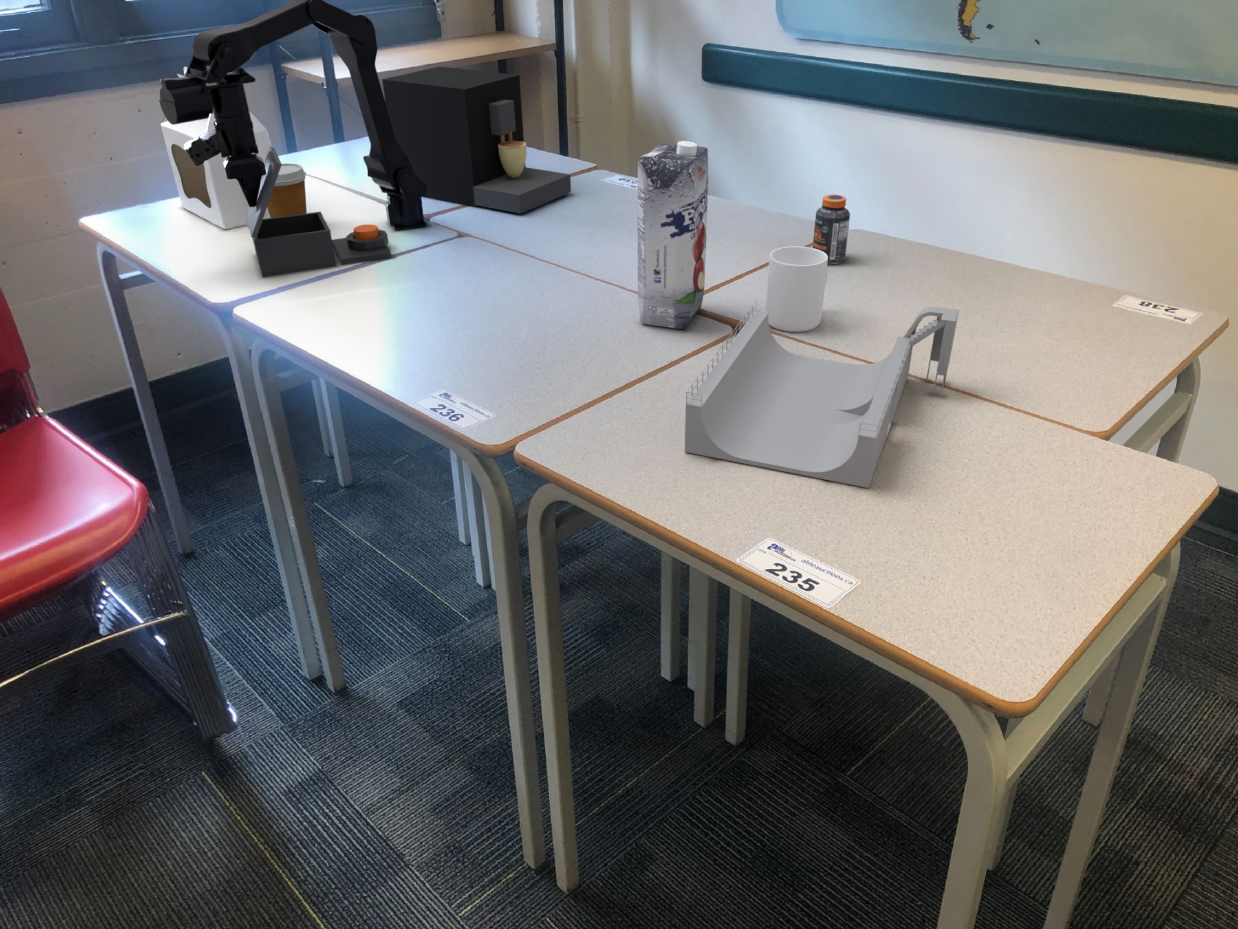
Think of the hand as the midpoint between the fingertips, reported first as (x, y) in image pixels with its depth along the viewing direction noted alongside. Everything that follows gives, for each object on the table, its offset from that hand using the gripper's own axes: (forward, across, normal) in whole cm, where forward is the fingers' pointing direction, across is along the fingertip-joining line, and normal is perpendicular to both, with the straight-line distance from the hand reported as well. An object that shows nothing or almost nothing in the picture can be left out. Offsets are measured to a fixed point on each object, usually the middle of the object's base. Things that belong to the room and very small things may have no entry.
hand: (252, 206), depth 168 cm
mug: (+11, +62, +75) cm, 97 cm away
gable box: (+11, -37, -3) cm, 39 cm away
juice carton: (+11, +52, +57) cm, 78 cm away
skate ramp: (+11, +90, +61) cm, 109 cm away
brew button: (+8, 0, +19) cm, 20 cm away
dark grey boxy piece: (+11, 0, +5) cm, 12 cm away
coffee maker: (+11, -27, +49) cm, 57 cm away
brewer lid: (-2, 0, +3) cm, 3 cm away
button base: (+11, 0, +17) cm, 20 cm away
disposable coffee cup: (+11, -19, +7) cm, 23 cm away
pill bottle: (+12, +40, +94) cm, 103 cm away
